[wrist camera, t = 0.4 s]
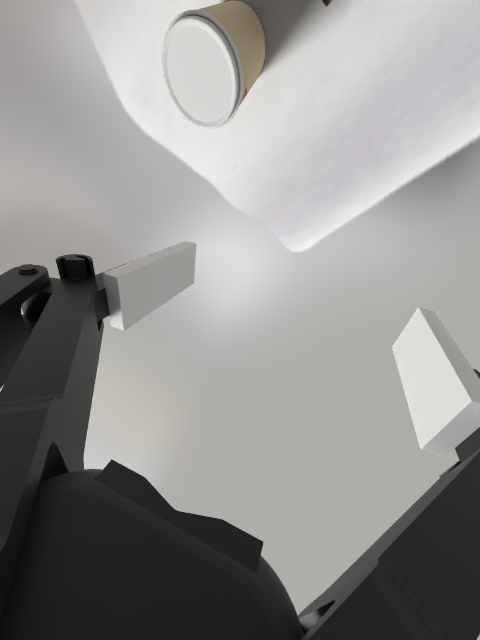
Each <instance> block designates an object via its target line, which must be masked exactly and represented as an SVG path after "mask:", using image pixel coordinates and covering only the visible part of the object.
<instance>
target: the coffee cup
mask: <svg viewBox="0 0 480 640" xmlns="http://www.w3.org/2000/svg"><path fill="white" fill-rule="evenodd" d="M265 52H266V42H265V35H264V30H263V26H262V24H261V21H260V19H259V17H258V15H257V14H256V12H255V11H254V10H253V9H252V8H251V7H250V6H249V5H248V4H246V3H245V2H242V1H237V0H235V1H228V2H224V3H220V4H216V5H212V6H209V7H205V8H202V9H198V10H188V11H185V12H183V13H181V14H179V15H178V16H177V17H176V18H175V19H174V20H173V21H172V22H171V24H170V26H169V28H168V30H167V32H166V35H165V39H164V44H163V52H162V66H163V73H164V78H165V82H166V85H167V88H168V91H169V94H170V96H171V98H172V100H173V102H174V103H175V105H176V106H177V108H178V109H179V111H180V112H181V113H182V114H183V115H184V116H185V117H186V118H187V119H188V120H189V121H190V122H192V123H193V124H195V125H197V126H200V127H203V128H208V129H214V128H219V127H221V126H223V125H225V124H226V123H228V122H229V121H230V120H231V119H232V118H233V116H234V115H235V113H236V111H237V109H238V107H239V105H240V104H241V102H242V101H243V99H244V98H245V96H246V95H247V93H248V92H249V90H250V89H251V87H252V86H253V84H254V82H255V81H256V79H257V78H258V76H259V74H260V72H261V70H262V67H263V64H264V60H265Z"/></svg>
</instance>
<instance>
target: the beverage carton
mask: <svg viewBox="0 0 480 640" xmlns="http://www.w3.org/2000/svg"><path fill="white" fill-rule="evenodd" d="M322 1H323V3H324V4H325V6H328V5H329V3H330V2H331V1H332V0H322Z"/></svg>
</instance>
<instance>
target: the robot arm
mask: <svg viewBox="0 0 480 640" xmlns="http://www.w3.org/2000/svg"><path fill="white" fill-rule="evenodd" d="M195 254H196V244H195V243H191V242H188V241H184V242H181V243H179V244H176V245H174V246H171V247H168V248H166V249H163V250H161V251H158V252H155V253H153V254H151V255H148V256H145V257H142V258H140V259H138V260H135V261H132V262H130V263H126V264H123V265H121V266H119V267H116V268H113V269H110V270H108V271H105V272H103V273H100V274H98V275H95V273H94V267H93V261H92V258H91V257H89V256H86V255H78V254H73V255H64V256H61V257H58V258H57V259H56V263H57V267H58V270H59V274H60V279H56V278H50V277H49V275H48V271H47V268H45V267H43V266H39V265H32V264H28V265H22V266H19V267H15V268H13V269H10V270H9V271H7V272H5V273H4V274H2V275H0V388H1V387H2V386H3V385H4V386H3V388H2V390H1V392H0V640H477V637H478V636H479V634H480V373H479V372H478V371H477V370H475V369H472V367H471V365H470V364H469V362H468V361H467V360H466V358H465V357H464V355H463V354H462V352H461V351H460V349H459V348H458V346H457V345H456V343H455V342H454V340H453V339H452V337H451V336H450V334H449V333H448V331H447V330H446V328H445V327H444V325H443V324H442V323H441V321H440V320H439V318H438V316H437V315H436V313H435V312H434V311H430V310H426V309H423V308H420V307H418V308H417V310H416V312H415V313H414V315H413V316H412V318H411V320H410V321H409V323H408V324H407V325H406V327H405V328H404V330H403V331H402V333H401V335H400V336H399V338H398V339H397V341H396V342H395V344H394V345H393V347H392V349H393V352H394V356H395V360H396V363H397V367H398V370H399V374H400V377H401V381H402V385H403V387H404V391H405V395H406V399H407V402H408V406H409V410H410V413H411V417H412V420H413V424H414V428H415V431H416V435H417V438H418V442H419V446H420V449H421V450H423V451H426V452H428V453H431V454H433V455H435V456H438V457H440V458H443V459H444V458H445V457H447V456H448V455H449V454H450V453H451V452H453V451H454V450H456V452H457V455H458V457H459V461H458V462H457V463H456V464H454V465H453V466H452V467H450V468H449V469H448V470H447V471H445V472H444V473H443V474H442V475H440V479H439V480H438V481H437V482H436V483H435V484H434V485H433V486H432V487H431V488H430V489H429V490H428V491H427V492H426V493H425V494H424V495H423V496H422V497H420V499H418V500H417V501H416V502H415V503H414V504H413V505H412V506H411V507H410V508H409V509H408V510H407V511H406V512H405V513H404V514H403V515H402V516H401V517H400V518H399V519H398V520H397V521H396V522H395V523H394V524H393V525H392V526H391V527H390V528H389V529H388V530H387V531H386V532H385V533H384V534H383V535H382V536H381V537H380V538H379V539H378V540H377V541H376V542H375V543H374V544H373V545H372V546H371V547H370V548H369V549H368V550H367V551H366V552H365V553H364V554H363V555H362V556H361V557H360V558H359V559H358V560H357V561H356V562H355V563H354V564H353V565H352V566H351V567H350V568H349V569H348V570H346V571H345V573H343V575H341V576H340V577H339V578H338V579H337V580H336V582H334V583H333V584H332V585H331V586H330V587H329V588H328V589H327V590H326V591H325V592H324V593H323V594H322V595H320V596H319V597H318V598H317V599H316V600H314V601H313V602H312V603H311V604H310V605H309V606H308V607H306V608H305V609H304V610H303V611H302V612H301V613H300V614H299V615H298V616H297V613H296V611H295V608H294V606H293V603H292V602H291V599H290V597H289V595H288V593H287V591H286V589H285V587H284V586H283V584H282V582H281V581H280V579H279V578H278V576H277V574H276V573H275V572H274V571H273V569H272V568H271V566H270V565H269V564H268V563H267V562H266V561H265V560H264V558H262V556H261V550H262V546H263V541H261V540H259V539H257V538H255V537H253V536H252V535H250V534H248V533H246V532H244V531H242V530H241V529H239V528H237V527H235V526H233V525H231V524H229V523H228V522H226V521H224V520H222V519H217V518H212V517H206V516H201V515H196V514H191V513H185V512H180V511H177V510H175V509H174V508H172V507H171V506H170V504H169V503H168V502H167V501H166V500H165V499H164V498H163V497H162V496H161V495H160V493H158V491H157V490H156V489H155V488H154V487H153V486H152V485H151V484H150V483H149V481H148V480H147V479H146V478H144V477H143V476H141V475H139V474H138V473H136V472H134V471H132V470H130V469H128V468H127V467H125V466H123V465H121V464H119V463H117V462H116V461H114V460H111V461H110V462H109V463H108V465H107V466H106V467H105V468H104V469H103V470H101V469H87V470H84V462H83V456H84V448H85V441H86V435H87V428H88V422H89V416H90V410H91V404H92V397H93V391H94V384H95V378H96V372H97V365H98V360H99V353H100V347H101V341H102V334H103V328H104V323H103V319H104V318H105V317H107V316H109V317H110V323H111V326H113V327H115V328H118V329H120V330H123V331H124V330H126V329H127V328H129V327H130V326H132V325H133V324H135V323H136V322H137V321H139V320H141V319H142V318H143V317H145V316H146V315H148V314H149V313H150V312H152V311H154V310H155V309H157V308H158V307H159V306H161V305H162V304H164V303H165V302H167V301H168V300H169V299H171V298H173V297H174V296H175V295H177V294H178V293H180V292H181V291H183V290H184V289H186V288H187V287H189V286H190V285H191V284H193V283H194V271H195ZM21 307H22V310H23V313H24V314H23V315H21Z"/></svg>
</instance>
